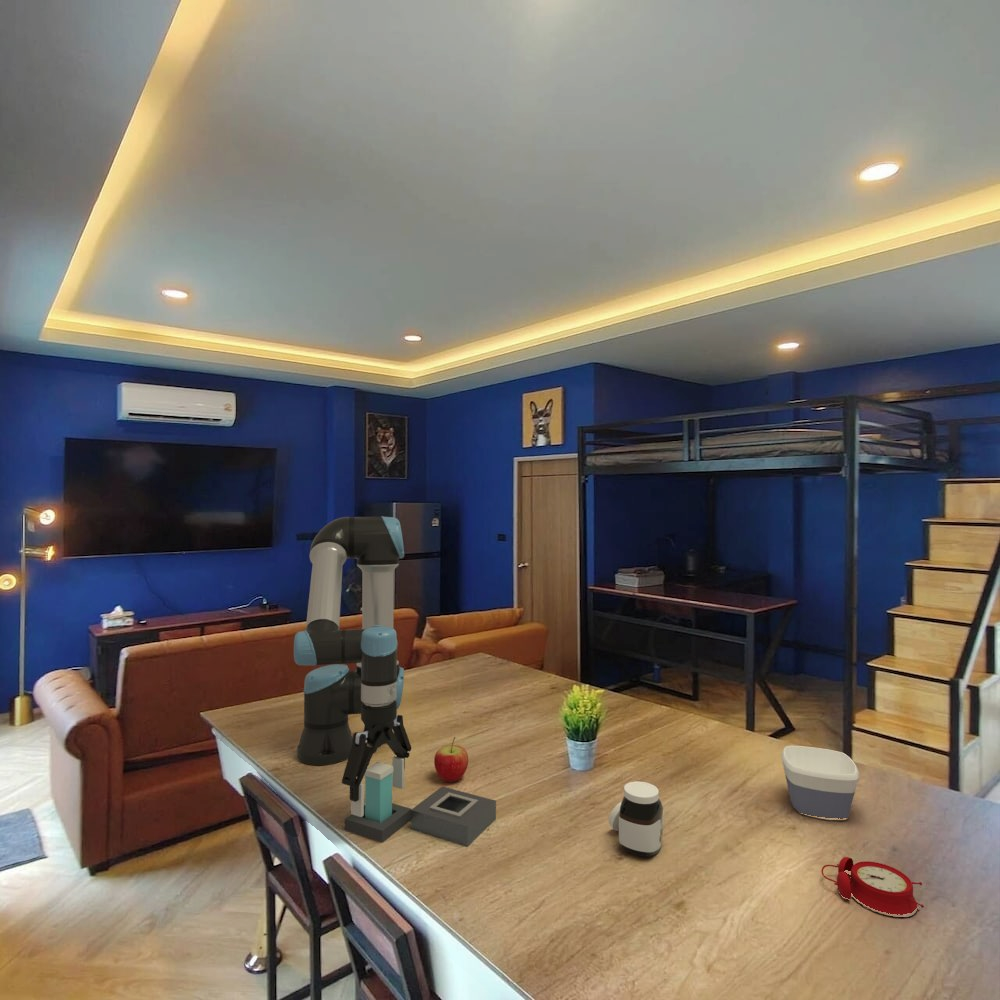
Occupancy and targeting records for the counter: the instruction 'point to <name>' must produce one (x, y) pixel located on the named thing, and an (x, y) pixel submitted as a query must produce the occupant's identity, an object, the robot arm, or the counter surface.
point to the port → (453, 815)
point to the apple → (451, 762)
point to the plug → (378, 792)
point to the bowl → (820, 781)
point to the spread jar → (639, 819)
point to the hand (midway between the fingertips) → (378, 800)
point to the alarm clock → (876, 886)
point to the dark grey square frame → (379, 824)
